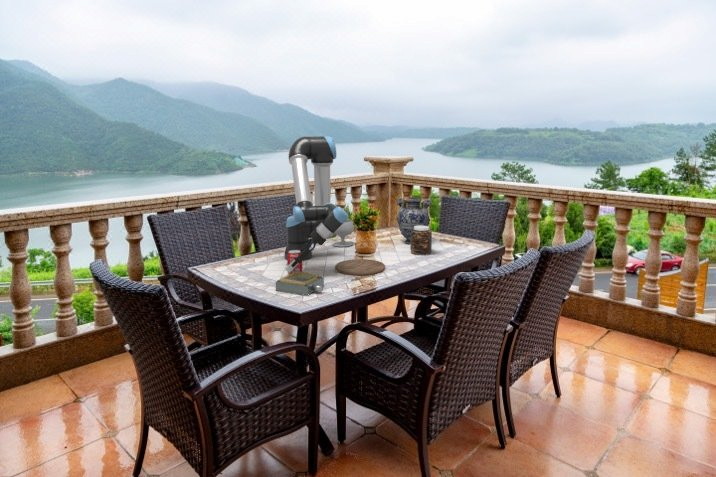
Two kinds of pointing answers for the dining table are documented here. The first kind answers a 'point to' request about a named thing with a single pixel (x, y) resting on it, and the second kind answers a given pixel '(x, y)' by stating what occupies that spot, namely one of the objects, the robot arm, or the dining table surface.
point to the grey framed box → (300, 283)
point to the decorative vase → (412, 215)
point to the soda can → (290, 258)
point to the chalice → (344, 233)
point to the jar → (421, 240)
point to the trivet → (359, 267)
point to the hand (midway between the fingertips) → (287, 268)
